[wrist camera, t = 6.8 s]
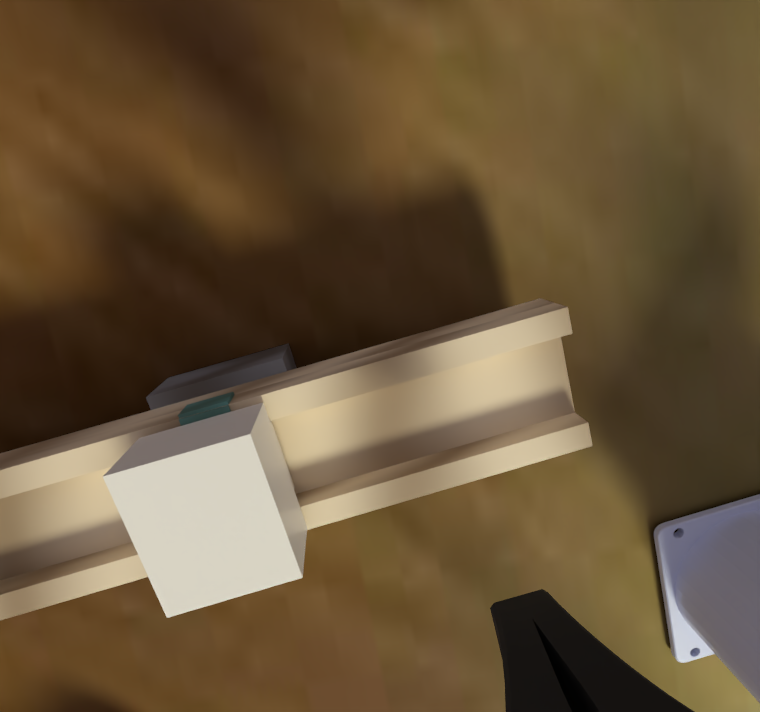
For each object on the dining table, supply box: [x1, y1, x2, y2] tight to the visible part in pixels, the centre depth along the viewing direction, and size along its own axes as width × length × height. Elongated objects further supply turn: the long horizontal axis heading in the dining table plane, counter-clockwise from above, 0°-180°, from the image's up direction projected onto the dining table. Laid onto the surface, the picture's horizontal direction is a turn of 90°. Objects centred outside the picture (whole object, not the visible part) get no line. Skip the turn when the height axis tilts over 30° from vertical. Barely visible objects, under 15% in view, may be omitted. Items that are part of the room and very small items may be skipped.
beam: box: [0, 298, 592, 620], centre depth 18 cm, size 24×6×7 cm, turn 105°
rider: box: [103, 402, 307, 618], centre depth 16 cm, size 4×5×4 cm
